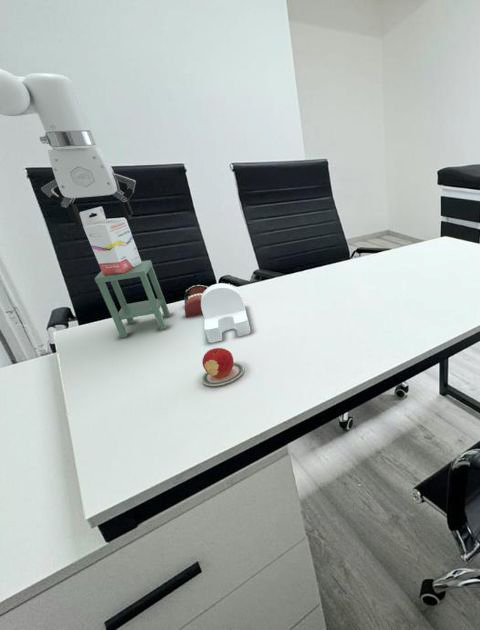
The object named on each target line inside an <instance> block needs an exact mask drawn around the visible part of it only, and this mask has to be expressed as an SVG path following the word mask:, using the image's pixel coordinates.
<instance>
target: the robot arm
mask: <svg viewBox="0 0 480 630" xmlns="http://www.w3.org/2000/svg"><path fill="white" fill-rule="evenodd" d="M33 114H37V115H38V117H39V120H40V122H41V124H42V127H43V130H44V135H43V136H39V141H40V142H41V144H47V145H49V146H50V147H51V148H52V149H48V150H47V153H48V157H49V162H50V166H51V169H52V172H53V175H54V178H55V179H53V180H51V181H50V182H48V183H46V184H45V185H43V186H42V187H40V191H42V193H44V194H45V195H46V196H47V197H49V199H50V200H51V201H53V202H55V203H57V204H59V205H61V207H63V208H65V210H66V213H67V215H68V217H69V220H70V221H71V222H73V223H74V225H75V226H79V225H81V224H82V221H81V217H80V211H79V208H78V206H77V205H76V204H74V202H75V200H76V199H80V198H92V197H103V196H111V195H112V196H113V197H115V198H117V199H118V200H119V201H120V202H119V207H120V209H121V212H122V214H123V218H125V219H126V220H127V221H129V220H131V218H132V216H133V215H134V213H133V209H132V206H131V204H130V199H131V197H132V196H133V194H134V193H135V188H136V184H137V181H136V180H135V179H132V178H129V177H127V176H123V175H121V174H118V173H115V172H114V169H113V167H112V165H111V163H110V162H109V160H108V157H107V155H106V154H105V152H104V151H103V149H102V148H101V146H97V144H96V140H95V139H94V136H93V133H92V130H91V127H90V125H89V123H88V119H87V117H86V115H85V112H84V109H83V106H82V103H81V101H80V98H79V96H78V92H77V90H76V88H75V86H74V83H73V81H72V80H71V79H70V78H69V77H68V76H66V75H63V74H58V73H48V72H35V73H29V74H26V75H25V76H21V75H14V74H13V73H11V72H9V71H7V70H5V69H3V68H0V115H3V116H6V117H19V116H20V117H21V116H27V115H33ZM119 182H120V183H122V184H126V186H127V187H126V190H125V192H123V191H122V190H121V188H120V184H119ZM57 187H58V189H59V191H60V194H61V195H62V196H61V195H59V194H57V193H56V192H55V189H56V188H57Z"/></svg>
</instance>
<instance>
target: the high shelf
mask: <svg viewBox="0 0 480 630" xmlns="http://www.w3.org/2000/svg"><path fill="white" fill-rule="evenodd" d="M141 262H142V263H141V264H139V265H137V266H136V267H134V268H132V269H130V270H128V271H127V272H125V273H121V274H106V275H103V273H102V271H101V270H100V272H99V273H98V274H97V275H96V276H95V277H94V281H95V283H96V284H97V286H98V289H99V291H100V293H101V296H102V298H103V300H104V302H105V304H106V307H107V309H108V312H109V314H110V316H111V318H112V320H113V322H114V324H115V327H116V330H117V331H118V334H119V336H120V338H121V339H123V338H127V337H128V335H129V334H128V332H127V330H126V327H125V326H124V323H123V320H126V322H127V324H128V325H130V324H134V323H135V319H134V318H138V317H144V316H149V315H154V317H155V320H156V322H157V325H158V328H159V330H160V331H162V330H166V329H167V325H166V323H165V320H164V318H168V317H170V316H171V313H170V309H169V307H168V305H167V302H166V299H165V296H164V293H163V291H162V288H161V286H160V283H159V281H158V278H157V275H156V272H155V270H154V267H153V262H152V260H151V259H149V260H141ZM147 274H148V275H147ZM148 276H149V278H148ZM134 278H140V281H141V283H142V286H143V289H144V291H145V293H146V297H147V299H148V300H143V301H137V302H131V303H127V300H126V298H125V296H124V293H123V290H122V289H121V286H120V284H119V281H121V280H122V281H123V280H126V279H134ZM149 279H150V280H149ZM106 282H110V285H111V286H112V289H113V291H114V294H115V296H116V298H117V300H118V304H119V305H120V309H119V311H118V309H117V307H116V305H115V302H114V300H113V297H112V294H111V293H110V291H109V289H108V286H107V284H106ZM150 282H151V284H152V286H151V284H150ZM152 287H153V288H152ZM153 289H154V291H153ZM154 292H155V294H154ZM155 295H156V296H155ZM156 297H157V298H156ZM160 309H161V310H162V312H161V310H160ZM162 313H163V315H162ZM163 316H164V317H163Z"/></svg>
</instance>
